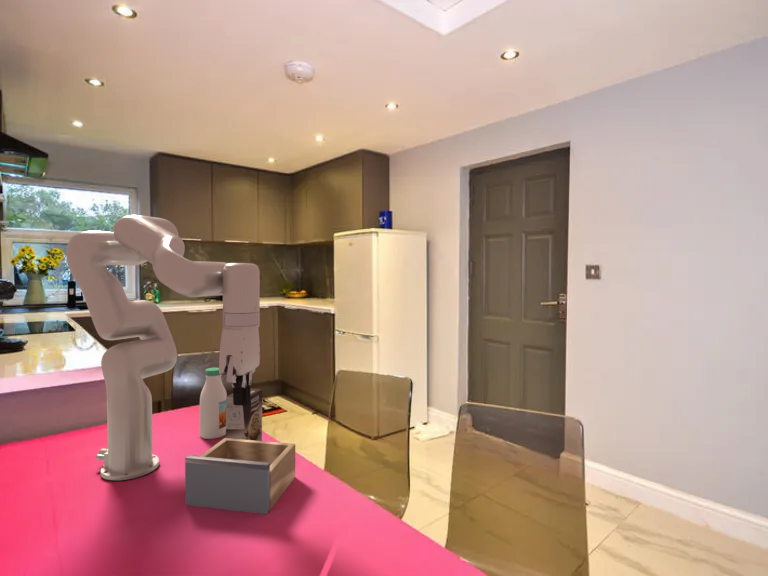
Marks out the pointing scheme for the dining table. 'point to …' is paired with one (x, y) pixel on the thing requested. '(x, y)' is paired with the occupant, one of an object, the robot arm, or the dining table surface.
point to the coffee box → (245, 417)
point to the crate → (261, 460)
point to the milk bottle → (213, 406)
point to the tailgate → (227, 484)
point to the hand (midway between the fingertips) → (241, 404)
